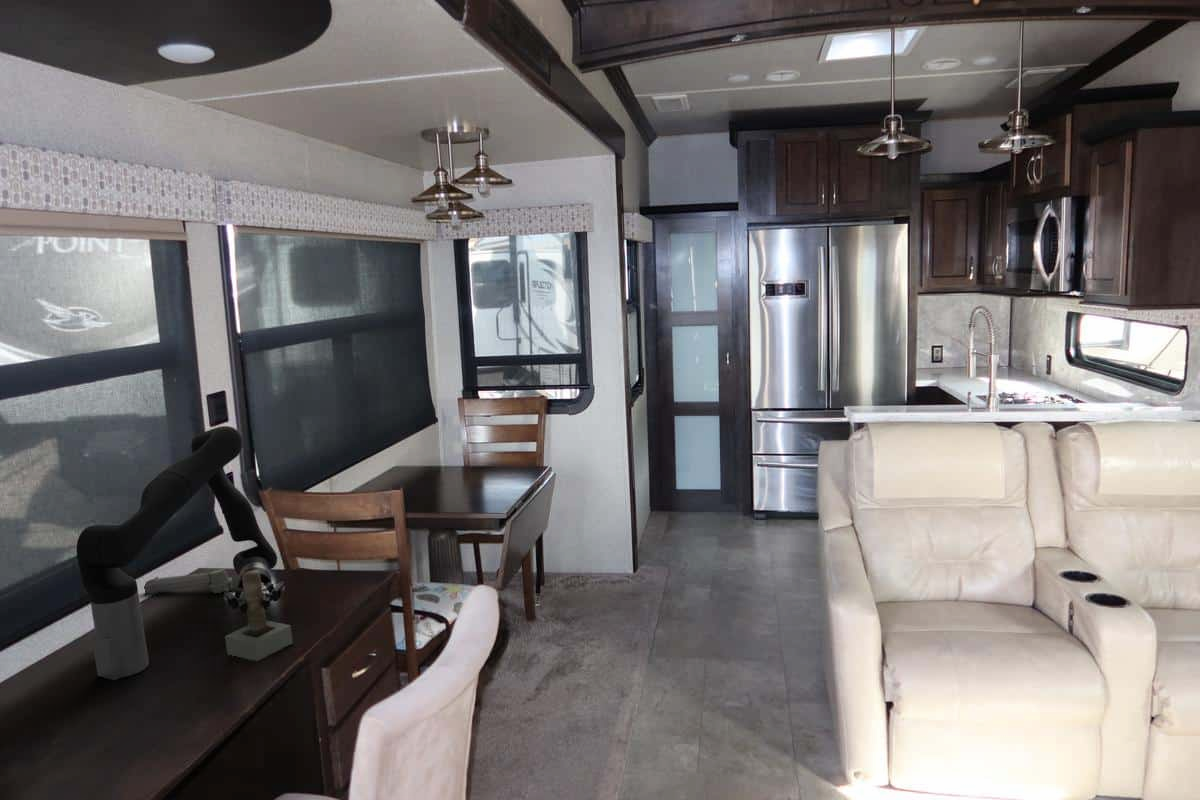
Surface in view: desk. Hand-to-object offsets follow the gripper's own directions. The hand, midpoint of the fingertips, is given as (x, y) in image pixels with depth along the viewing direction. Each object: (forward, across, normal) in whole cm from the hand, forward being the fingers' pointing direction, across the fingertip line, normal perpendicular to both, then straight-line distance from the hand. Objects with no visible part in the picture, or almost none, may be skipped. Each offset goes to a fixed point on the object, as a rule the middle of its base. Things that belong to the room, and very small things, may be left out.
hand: (254, 606), depth 193 cm
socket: (-3, 0, +11) cm, 12 cm away
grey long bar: (-53, -18, +12) cm, 57 cm away
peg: (-3, 0, +9) cm, 9 cm away
